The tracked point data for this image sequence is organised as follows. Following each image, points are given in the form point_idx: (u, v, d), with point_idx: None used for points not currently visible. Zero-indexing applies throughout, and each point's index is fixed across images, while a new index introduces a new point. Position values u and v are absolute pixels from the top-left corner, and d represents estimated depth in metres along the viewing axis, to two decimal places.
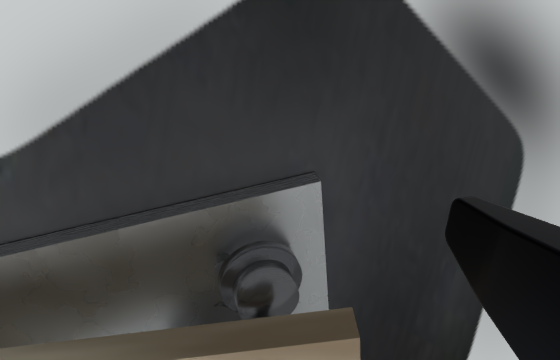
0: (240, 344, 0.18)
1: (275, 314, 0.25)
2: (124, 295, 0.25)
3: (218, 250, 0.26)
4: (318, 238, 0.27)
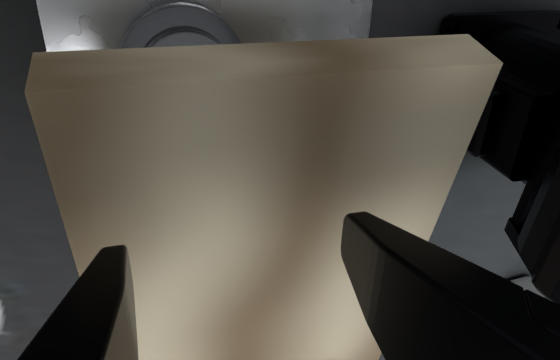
0: None
1: None
2: None
3: None
4: None
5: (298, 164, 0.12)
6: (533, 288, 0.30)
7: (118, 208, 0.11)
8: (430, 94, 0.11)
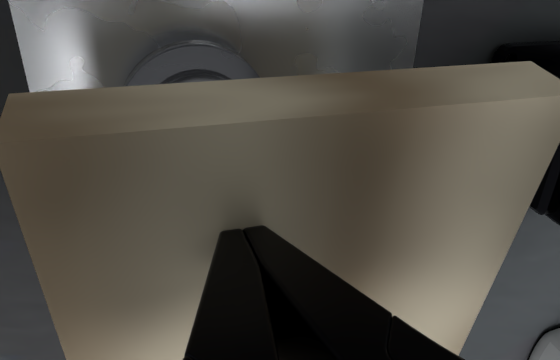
0: None
1: None
2: None
3: None
4: None
5: (334, 221, 0.10)
6: None
7: (115, 282, 0.09)
8: (495, 133, 0.09)
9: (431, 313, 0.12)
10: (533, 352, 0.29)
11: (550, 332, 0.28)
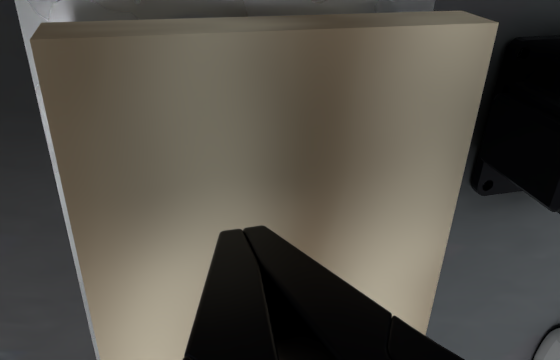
0: None
1: None
2: None
3: None
4: None
5: (303, 134, 0.11)
6: None
7: (121, 181, 0.11)
8: (430, 56, 0.11)
9: (401, 243, 0.14)
10: (539, 350, 0.29)
11: (556, 330, 0.28)
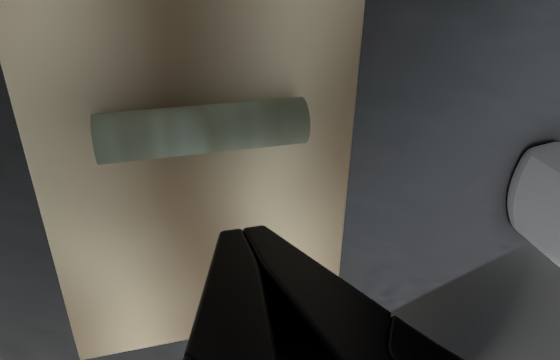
0: None
1: None
2: None
3: None
4: None
5: None
6: None
7: None
8: None
9: None
10: (514, 173, 0.27)
11: (532, 147, 0.26)
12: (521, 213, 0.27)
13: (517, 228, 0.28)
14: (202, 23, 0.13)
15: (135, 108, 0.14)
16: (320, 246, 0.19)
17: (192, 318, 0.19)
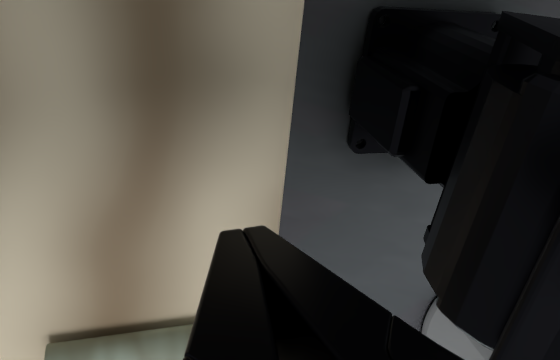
0: None
1: None
2: None
3: None
4: None
5: (136, 49, 0.13)
6: None
7: None
8: None
9: (241, 166, 0.16)
10: (427, 314, 0.31)
11: None
12: None
13: None
14: (141, 276, 0.17)
15: (83, 333, 0.17)
16: None
17: None
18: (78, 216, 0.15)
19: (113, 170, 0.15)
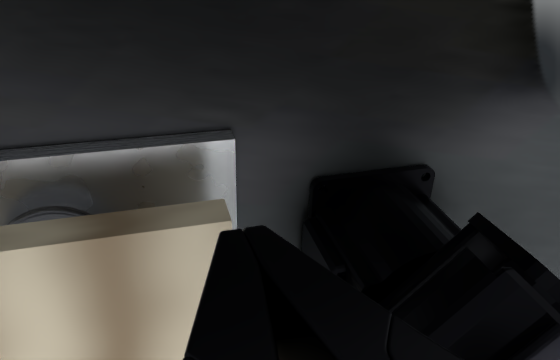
0: None
1: None
2: None
3: None
4: (16, 167, 0.18)
5: (101, 295, 0.17)
6: None
7: None
8: (185, 244, 0.17)
9: None
10: None
11: None
12: None
13: None
14: None
15: None
16: None
17: None
18: None
19: None
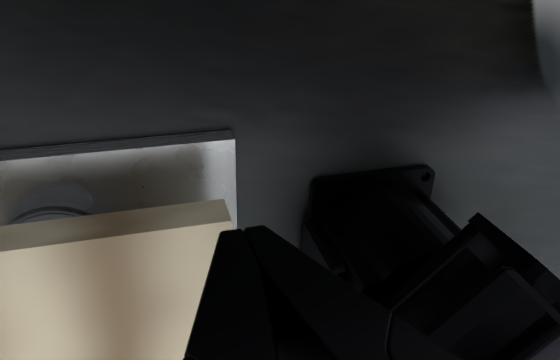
0: None
1: None
2: None
3: None
4: (16, 167, 0.18)
5: (101, 295, 0.17)
6: None
7: None
8: (184, 244, 0.17)
9: None
10: None
11: None
12: None
13: None
14: None
15: None
16: None
17: None
18: None
19: None
